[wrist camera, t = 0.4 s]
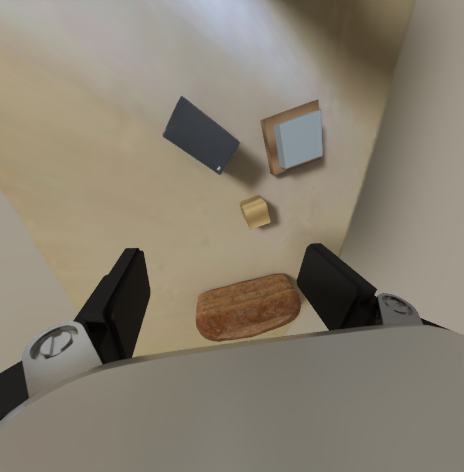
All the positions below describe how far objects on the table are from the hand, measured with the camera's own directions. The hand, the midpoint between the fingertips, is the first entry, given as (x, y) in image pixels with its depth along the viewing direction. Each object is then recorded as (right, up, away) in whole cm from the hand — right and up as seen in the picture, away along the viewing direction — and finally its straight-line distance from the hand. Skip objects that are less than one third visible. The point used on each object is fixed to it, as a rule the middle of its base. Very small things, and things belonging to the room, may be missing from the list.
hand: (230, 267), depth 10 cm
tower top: (+13, +22, +27) cm, 37 cm away
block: (+5, +9, +35) cm, 37 cm away
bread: (+4, -17, +50) cm, 53 cm away
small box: (-6, +22, +26) cm, 35 cm away
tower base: (+13, +23, +30) cm, 40 cm away
